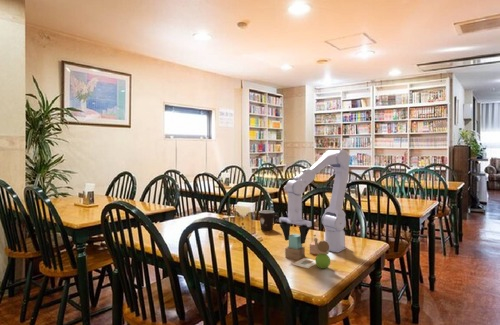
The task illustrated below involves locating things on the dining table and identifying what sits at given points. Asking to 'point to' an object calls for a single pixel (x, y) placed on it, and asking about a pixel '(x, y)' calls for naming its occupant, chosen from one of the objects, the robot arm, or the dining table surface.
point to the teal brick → (295, 241)
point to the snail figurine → (322, 253)
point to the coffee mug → (267, 220)
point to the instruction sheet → (305, 263)
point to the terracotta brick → (313, 248)
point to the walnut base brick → (295, 253)
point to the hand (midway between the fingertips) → (294, 241)
